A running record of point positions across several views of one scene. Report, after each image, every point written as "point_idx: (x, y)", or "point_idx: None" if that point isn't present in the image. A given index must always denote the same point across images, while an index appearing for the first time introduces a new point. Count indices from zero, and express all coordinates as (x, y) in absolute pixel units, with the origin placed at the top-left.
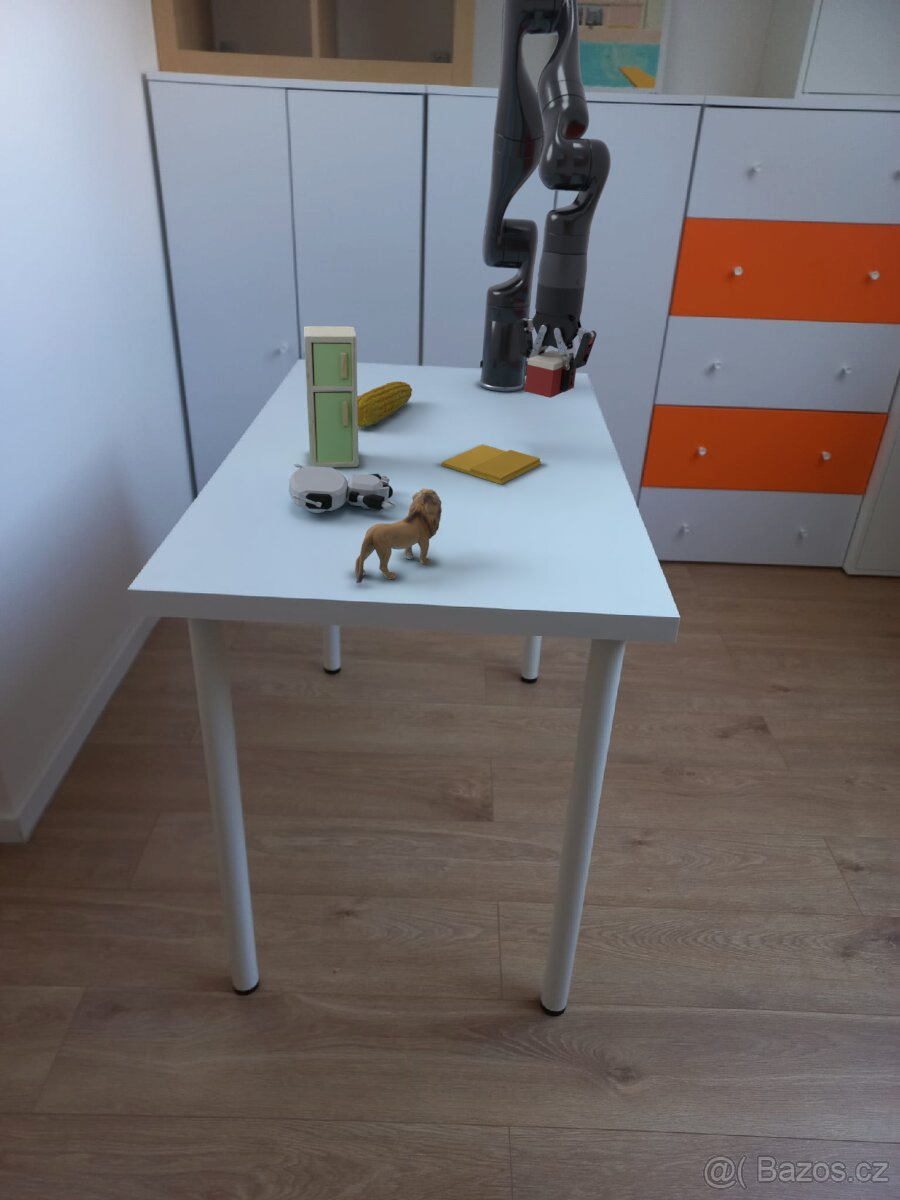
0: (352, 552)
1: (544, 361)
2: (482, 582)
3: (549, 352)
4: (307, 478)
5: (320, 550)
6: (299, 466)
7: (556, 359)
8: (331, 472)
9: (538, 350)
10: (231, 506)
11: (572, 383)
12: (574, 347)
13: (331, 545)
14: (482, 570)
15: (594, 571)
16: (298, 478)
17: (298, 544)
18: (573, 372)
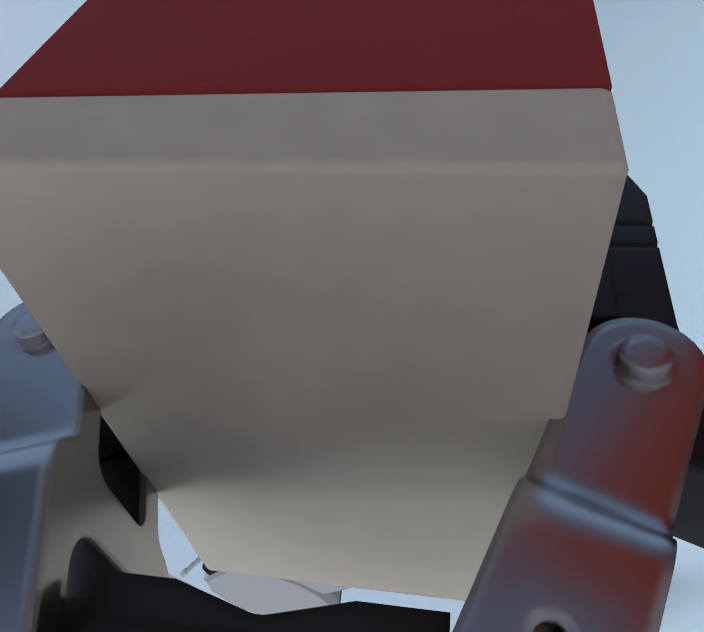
0: (453, 600)
1: (381, 583)
2: (689, 608)
3: (89, 331)
4: (261, 604)
5: (412, 605)
6: (188, 571)
7: (428, 510)
8: (255, 579)
9: (165, 575)
10: (204, 571)
11: (647, 215)
12: (658, 628)
13: (412, 596)
14: (673, 593)
15: None
16: (254, 608)
17: (375, 602)
18: (667, 323)
